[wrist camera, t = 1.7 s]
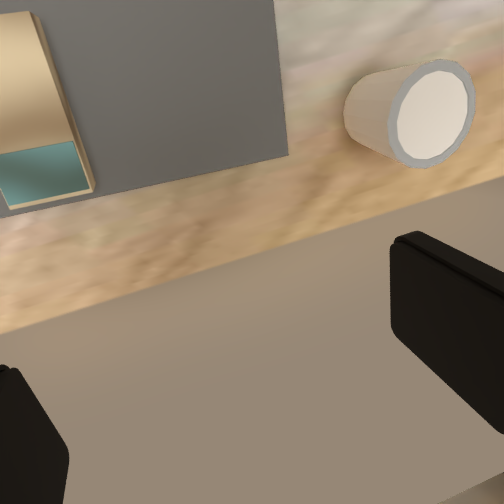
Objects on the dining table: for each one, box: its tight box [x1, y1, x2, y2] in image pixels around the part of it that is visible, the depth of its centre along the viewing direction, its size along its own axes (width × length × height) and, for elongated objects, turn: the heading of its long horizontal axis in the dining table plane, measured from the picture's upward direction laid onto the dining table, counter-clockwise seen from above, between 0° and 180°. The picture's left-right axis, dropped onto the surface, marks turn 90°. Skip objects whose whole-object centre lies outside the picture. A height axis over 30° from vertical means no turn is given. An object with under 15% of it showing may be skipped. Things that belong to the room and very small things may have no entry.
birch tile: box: [0, 11, 96, 210], centre depth 22 cm, size 10×5×3 cm, turn 9°
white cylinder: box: [343, 59, 476, 169], centre depth 28 cm, size 7×7×7 cm
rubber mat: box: [0, 0, 289, 218], centre depth 24 cm, size 14×22×1 cm, turn 99°
